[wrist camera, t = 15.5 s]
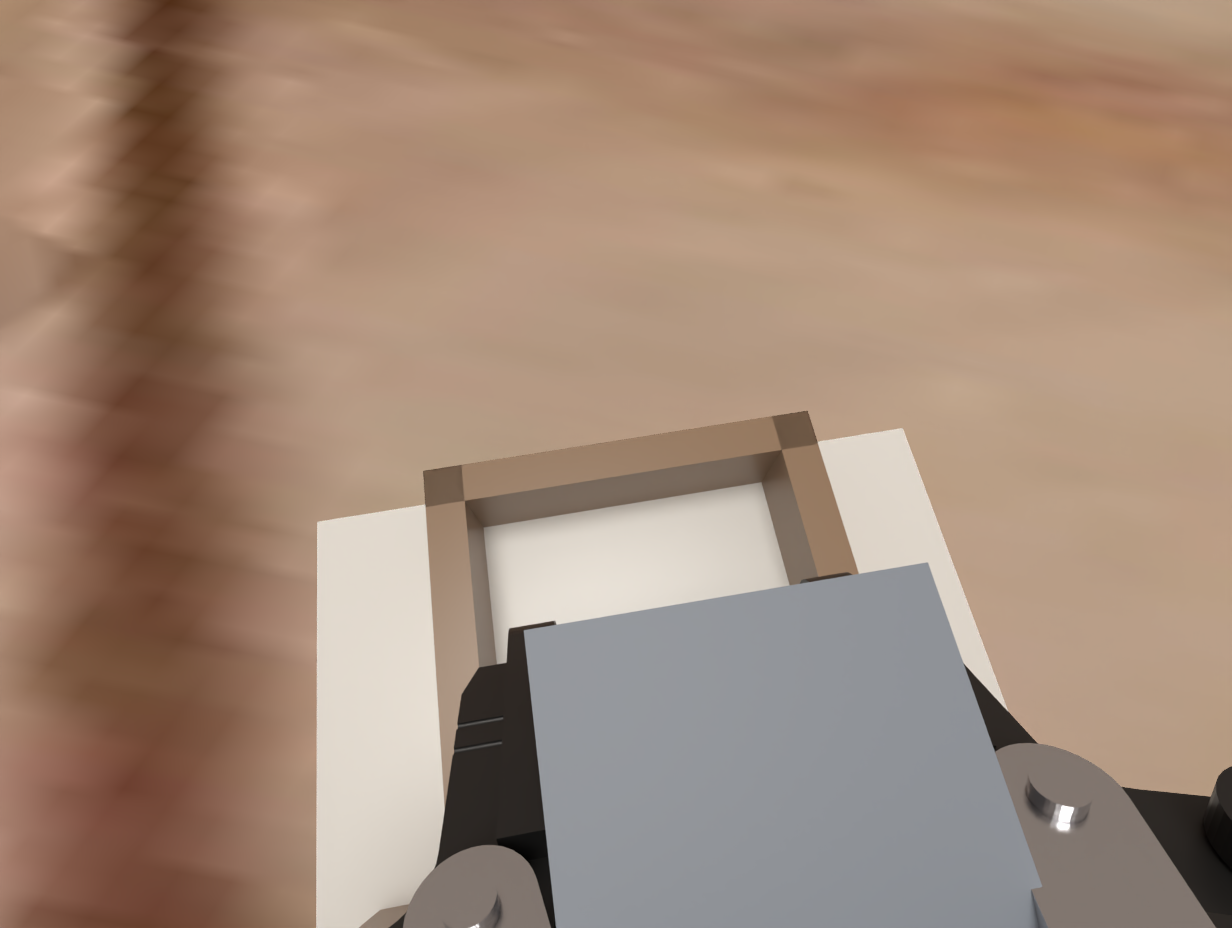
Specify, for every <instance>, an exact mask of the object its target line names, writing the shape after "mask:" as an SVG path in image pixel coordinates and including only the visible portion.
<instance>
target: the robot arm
mask: <svg viewBox="0 0 1232 928" xmlns="http://www.w3.org/2000/svg"><path fill="white" fill-rule="evenodd" d="M849 575H852V574H851V573H849V572H844V573H838V574H832V575H826V576H820V577H814V578H808V579H803V580H801V582H800V584H802V583H807V582H813V581H819V580H825V579H831V578H837V577H843V576H849ZM552 625H556V622H555V621H550V622H544V623H538V624H532V625H526V626H520V627H514V628H509V631H508V645H507V662H506V663H502V664H496V665H490V666H484V667H479V668H478V669H477V671H476V672H475V674H474V676H473V677H472V679H471V680H470V682H469V683H468V685H467V687H466V688H465V690H464V691H463V693H462V694H461V701H460V708H459V715H458V722H457V725H458V729H456V735H455V742H454V754H453V756H452V763H451V770H450V777H449V784H448V790H447V797H446V804H445V811H444V818H443V825H442V832H441V839H440V846H439V852H438V857H437V861H436V865H435V868H434V870H433V871H431V872H430V874H429V875H428V876H427V877H426V878H425V879H424V880H423V882H422V883H421V884H420V886H419V887H418V889H417V890H416V892H415V894H414V896H413V898H412V900H411V902H410V904H409V906H408V909H407V912H406V913H405V914H404V915H403V916H402V917H401V918H400V919H399V920H398V921H396V922H395V923H394V924H393V925H391V926H390V927H389V928H556V922H555V913H554V903H553V894H552V885H551V876H550V867H549V858H548V848H547V839H546V830H545V821H544V812H543V803H542V793H541V784H540V775H539V766H538V757H537V748H536V738H535V729H534V720H533V711H532V702H531V693H530V683H529V674H528V665H527V656H526V647H525V638H524V630H528V629H534V628H540V627H546V626H552ZM964 666H965V669H966V672H967V675H968V677H969V680H970V683H971V686H972V689H973V692H974V694H975V697H976V700H977V703H978V706H979V709H980V711H981V714H982V717H983V720H984V723H985V725H986V728H987V731H988V734H989V737H990V740H991V742H992V745H993V748H994V751H995V754H996V757H997V759H998V762H999V765H1000V768H1001V771H1002V774H1003V776H1004V779H1005V782H1006V785H1007V788H1008V791H1009V793H1010V796H1011V799H1012V802H1013V805H1014V808H1015V810H1016V813H1017V816H1018V819H1019V822H1020V824H1021V827H1022V830H1023V833H1024V836H1025V839H1026V841H1027V844H1028V847H1029V850H1030V853H1031V856H1032V858H1033V861H1034V864H1035V867H1036V870H1037V873H1038V875H1039V878H1040V881H1041V884H1042V887H1040V888H1035V889H1031V891H1032V896H1033V902H1034V907H1035V912H1036V918H1037V923H1038V928H1232V767H1229V768H1228V769H1226V770H1224V771H1223V772H1222V773H1221V774H1220V775H1219V776H1218V779H1217V782H1216V784H1215V787H1214V790H1213V792H1212V795H1211V797H1207V796H1198V795H1188V794H1178V793H1168V792H1158V791H1148V790H1139V789H1132V788H1125V787H1121V786H1120V785H1119V784H1118V783H1117V782H1116V781H1115V780H1114V779H1113V778H1112V777H1110V776H1109V775H1108V774H1107V773H1105V772H1104V771H1103V770H1102V769H1100V768H1098V767H1097V766H1095V765H1094V764H1092V763H1091V762H1089V761H1087V760H1085V759H1083V758H1082V757H1080V756H1078V755H1075V754H1073V753H1071V752H1068V751H1066V750H1063V749H1059V748H1056V747H1053V746H1048V745H1043V744H1038V743H1037V742H1036V741H1035V740H1034V739H1033V738H1032V737H1031V736H1030V735H1029V734H1028V733H1027V732H1026V731H1025V729H1024V728H1023V727H1022V726H1021V725H1020V724H1019V723H1018V722H1017V721H1016V720H1015V719H1014V718H1013V716H1012V715H1011V714H1010V713H1009V712H1008V711H1007V710H1006V709H1005V708H1004V707H1003V706H1002V704H1001V703H1000V702H999V701H998V700H997V699H996V698H995V697H994V696H993V695H992V694H991V693H990V691H989V690H988V689H987V688H986V687H985V686H984V685H983V684H982V683H981V682H980V681H979V679H978V678H977V677H976V676H975V675H974V674H973V673H972V672H971V671H970V670H969V669H968V668H967V666H966V665H965V664H964Z"/></svg>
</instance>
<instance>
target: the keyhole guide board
mask: <svg viewBox="0 0 1232 928" xmlns="http://www.w3.org/2000/svg"><path fill="white" fill-rule="evenodd" d="M423 476H424V492H425V505H420V506H413V507H407V508H401V509H395V510H388V511H382V512H376V513H370V514H363V515H357V516H351V517H345V518H338V519H332V520H326V521H320V522H317V871H316V928H389V927H390V926H391V925H393V924H394V923H395V922H396V921H398V920H399V919H400V918H401V917H402V916H403V915H404V914H405V913H406V912H407V909H408V906H409V904H410V902H411V900H412V898H413V896H414V894H415V892H416V890H417V889H418V887H419V886H420V884H421V883H422V882H423V880H424V879H425V878H426V877H427V876H428V875H429V874H430V872H431V871H433V870H434V868H435V865H436V861H437V857H438V852H439V846H440V839H441V832H442V825H443V818H444V811H445V804H446V797H447V790H448V784H449V777H450V770H451V763H452V756H453V754H454V742H455V735H456V729H458V725H457V722H458V715H459V708H460V701H461V694H462V693H463V691H464V690H465V688H466V687H467V685H468V683H469V682H470V680H471V679H472V677H473V676H474V674H475V672H476V671H477V669H478V668H479V667H484V666H490V665H496V664H502V663H506V662H507V645H508V631H509V628H514V627H520V626H526V625H532V624H538V623H544V622H550V621H555V622H556V625H558V624H564V623H570V622H576V621H582V620H588V619H594V618H600V617H606V616H611V615H617V614H623V613H629V612H635V611H641V610H647V609H653V608H659V607H665V606H671V605H677V604H683V603H689V602H695V601H701V600H706V599H712V598H718V597H724V596H730V595H736V594H742V593H748V592H754V591H760V590H766V589H772V588H778V587H784V586H790V585H796V584H800V582H801V580H803V579H808V578H814V577H820V576H826V575H832V574H838V573H844V572H849V573H851V574H852V575H855V574H861V573H867V572H873V571H879V570H885V569H891V568H897V567H903V566H908V565H914V564H920V563H926V562H928V564H929V567H930V570H931V573H932V576H933V578H934V581H935V584H936V587H937V590H938V593H939V595H940V598H941V601H942V604H943V607H944V610H945V612H946V615H947V618H948V621H949V624H950V626H951V629H952V632H953V635H954V638H955V641H956V643H957V646H958V649H959V652H960V655H961V658H962V660H963V663H964V664H965V665H966V666H967V668H968V669H969V670H970V671H971V672H972V673H973V674H974V675H975V676H976V677H977V678H978V679H979V681H980V682H981V683H982V684H983V685H984V686H985V687H986V688H987V689H988V690H989V691H990V693H991V694H992V695H993V696H994V697H995V698H996V699H997V700H998V701H999V702H1000V703H1001V704H1002V706H1003V707H1004V708H1005V709H1006V710H1007V711H1008V709H1007V707H1006V704H1005V701H1004V699H1003V696H1002V693H1001V691H1000V688H999V685H998V683H997V680H996V677H995V675H994V672H993V669H992V667H991V664H990V661H989V658H988V656H987V653H986V650H985V648H984V645H983V642H982V640H981V637H980V634H979V632H978V629H977V626H976V624H975V621H974V618H973V616H972V613H971V610H970V608H969V605H968V602H967V599H966V597H965V594H964V591H963V589H962V586H961V583H960V581H959V578H958V575H957V573H956V570H955V567H954V565H953V562H952V559H951V557H950V554H949V551H948V548H947V546H946V543H945V540H944V538H943V535H942V532H941V530H940V527H939V524H938V522H937V519H936V516H935V514H934V511H933V508H932V506H931V503H930V500H929V498H928V495H927V492H926V489H925V487H924V484H923V481H922V479H921V476H920V473H919V471H918V468H917V465H916V463H915V460H914V457H913V455H912V452H911V449H910V447H909V444H908V441H907V439H906V436H905V433H904V430H903V428H901V429H894V430H888V431H882V432H876V433H869V434H863V435H857V436H851V437H844V438H838V439H832V440H826V441H819V442H817V439H816V436H815V433H814V429H813V426H812V423H811V420H810V417H809V414H808V411H803V412H797V413H790V414H784V415H777V416H771V417H765V418H758V419H752V420H746V421H739V422H733V423H726V424H720V425H714V426H707V427H701V428H694V429H688V430H682V431H675V432H669V433H663V434H656V435H650V436H643V437H637V438H631V439H624V440H618V441H612V442H605V443H599V444H592V445H586V446H580V447H573V448H567V449H560V450H554V451H548V452H541V453H535V454H529V455H522V456H516V457H509V458H503V459H497V460H490V461H484V462H478V463H471V464H465V465H458V466H452V467H446V468H439V469H433V470H426V471H423Z"/></svg>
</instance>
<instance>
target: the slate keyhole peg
mask: <svg viewBox="0 0 1232 928" xmlns="http://www.w3.org/2000/svg"><path fill="white" fill-rule="evenodd" d="M524 638H525V647H526V656H527V665H528V674H529V683H530V693H531V702H532V711H533V720H534V729H535V738H536V748H537V757H538V766H539V775H540V784H541V793H542V803H543V812H544V821H545V830H546V839H547V848H548V858H549V867H550V876H551V885H552V894H553V903H554V913H555V922H556V928H1038V923H1037V918H1036V912H1035V907H1034V902H1033V896H1032V891H1031V889H1035V888H1040V887H1042V884H1041V881H1040V878H1039V875H1038V873H1037V870H1036V867H1035V864H1034V861H1033V858H1032V856H1031V853H1030V850H1029V847H1028V844H1027V841H1026V839H1025V836H1024V833H1023V830H1022V827H1021V824H1020V822H1019V819H1018V816H1017V813H1016V810H1015V808H1014V805H1013V802H1012V799H1011V796H1010V793H1009V791H1008V788H1007V785H1006V782H1005V779H1004V776H1003V774H1002V771H1001V768H1000V765H999V762H998V759H997V757H996V754H995V751H994V748H993V745H992V742H991V740H990V737H989V734H988V731H987V728H986V725H985V723H984V720H983V717H982V714H981V711H980V709H979V706H978V703H977V700H976V697H975V694H974V692H973V689H972V686H971V683H970V680H969V677H968V675H967V672H966V669H965V666H964V663H963V660H962V658H961V655H960V652H959V649H958V646H957V643H956V641H955V638H954V635H953V632H952V629H951V626H950V624H949V621H948V618H947V615H946V612H945V610H944V607H943V604H942V601H941V598H940V595H939V593H938V590H937V587H936V584H935V581H934V578H933V576H932V573H931V570H930V567H929V564H928V562H926V563H920V564H914V565H908V566H903V567H897V568H891V569H885V570H879V571H873V572H867V573H861V574H855V575H849V576H843V577H837V578H831V579H825V580H819V581H813V582H807V583H802V584H796V585H790V586H784V587H778V588H772V589H766V590H760V591H754V592H748V593H742V594H736V595H730V596H724V597H718V598H712V599H706V600H701V601H695V602H689V603H683V604H677V605H671V606H665V607H659V608H653V609H647V610H641V611H635V612H629V613H623V614H617V615H611V616H606V617H600V618H594V619H588V620H582V621H576V622H570V623H564V624H558V625H552V626H546V627H540V628H534V629H528V630H524Z"/></svg>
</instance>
